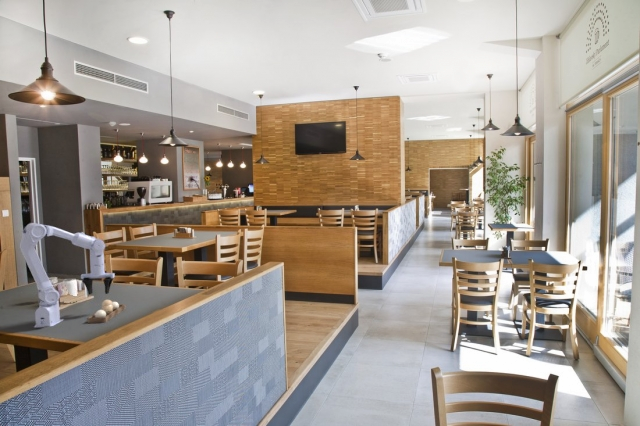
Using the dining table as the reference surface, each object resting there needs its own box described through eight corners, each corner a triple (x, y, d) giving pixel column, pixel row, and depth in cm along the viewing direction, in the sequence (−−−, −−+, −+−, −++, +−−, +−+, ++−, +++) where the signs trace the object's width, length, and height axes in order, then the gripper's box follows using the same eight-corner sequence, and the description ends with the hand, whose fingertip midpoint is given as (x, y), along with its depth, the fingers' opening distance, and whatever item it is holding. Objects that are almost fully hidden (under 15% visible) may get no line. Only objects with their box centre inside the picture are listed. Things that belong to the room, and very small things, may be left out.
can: (71, 304, 223) (70, 280, 223) (60, 303, 225) (59, 280, 224) (80, 300, 230) (79, 278, 229) (70, 300, 231) (68, 277, 230)
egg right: (116, 312, 205) (116, 302, 205) (107, 312, 205) (106, 303, 204) (120, 309, 209) (120, 300, 209) (111, 309, 209) (110, 300, 209)
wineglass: (56, 298, 235) (54, 276, 235) (61, 300, 231) (59, 277, 230) (41, 301, 230) (40, 278, 229) (46, 303, 226) (45, 280, 225)
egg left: (103, 321, 191) (103, 311, 191) (93, 321, 191) (92, 311, 191) (108, 318, 196) (107, 308, 195) (98, 318, 196) (97, 308, 195)
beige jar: (110, 316, 198) (109, 300, 198) (100, 316, 198) (99, 301, 198) (114, 313, 202) (113, 298, 202) (105, 313, 202) (104, 298, 202)
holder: (105, 323, 190) (105, 317, 190) (87, 324, 190) (87, 318, 189) (125, 309, 211) (125, 304, 211) (109, 310, 211) (109, 304, 211)
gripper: (116, 262, 208) (118, 291, 209) (85, 263, 208) (87, 291, 209) (110, 265, 201) (111, 294, 202) (78, 266, 201) (79, 295, 202)
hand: (98, 293), depth 205 cm, fingers open, 7 cm apart
